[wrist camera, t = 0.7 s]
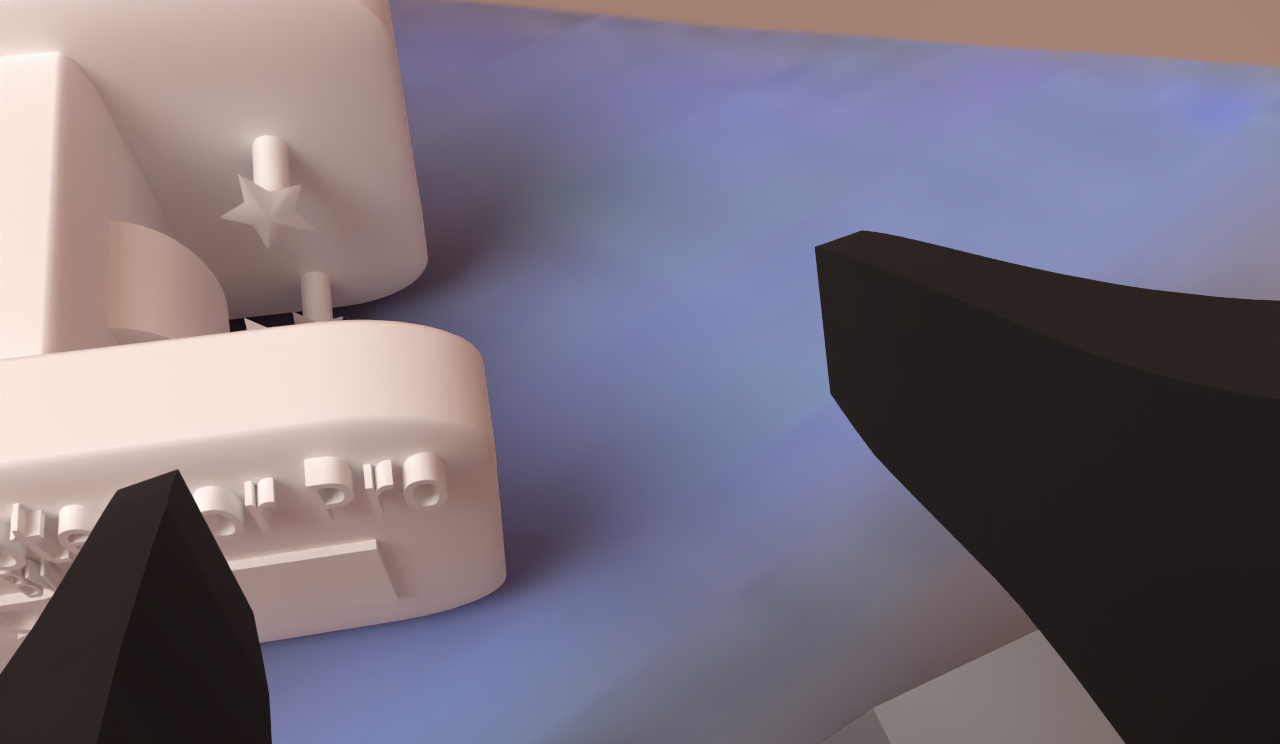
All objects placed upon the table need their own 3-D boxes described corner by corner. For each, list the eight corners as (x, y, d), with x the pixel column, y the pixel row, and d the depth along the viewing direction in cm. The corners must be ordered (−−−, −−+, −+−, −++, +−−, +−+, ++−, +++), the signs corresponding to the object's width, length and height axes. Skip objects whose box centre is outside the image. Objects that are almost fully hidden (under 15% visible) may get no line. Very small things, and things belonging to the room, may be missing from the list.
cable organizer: (461, 252, 30) (421, -100, 20) (512, 634, 26) (496, 435, 16) (-137, 318, 28) (-530, -40, 18) (-195, 749, 24) (-767, 608, 13)
